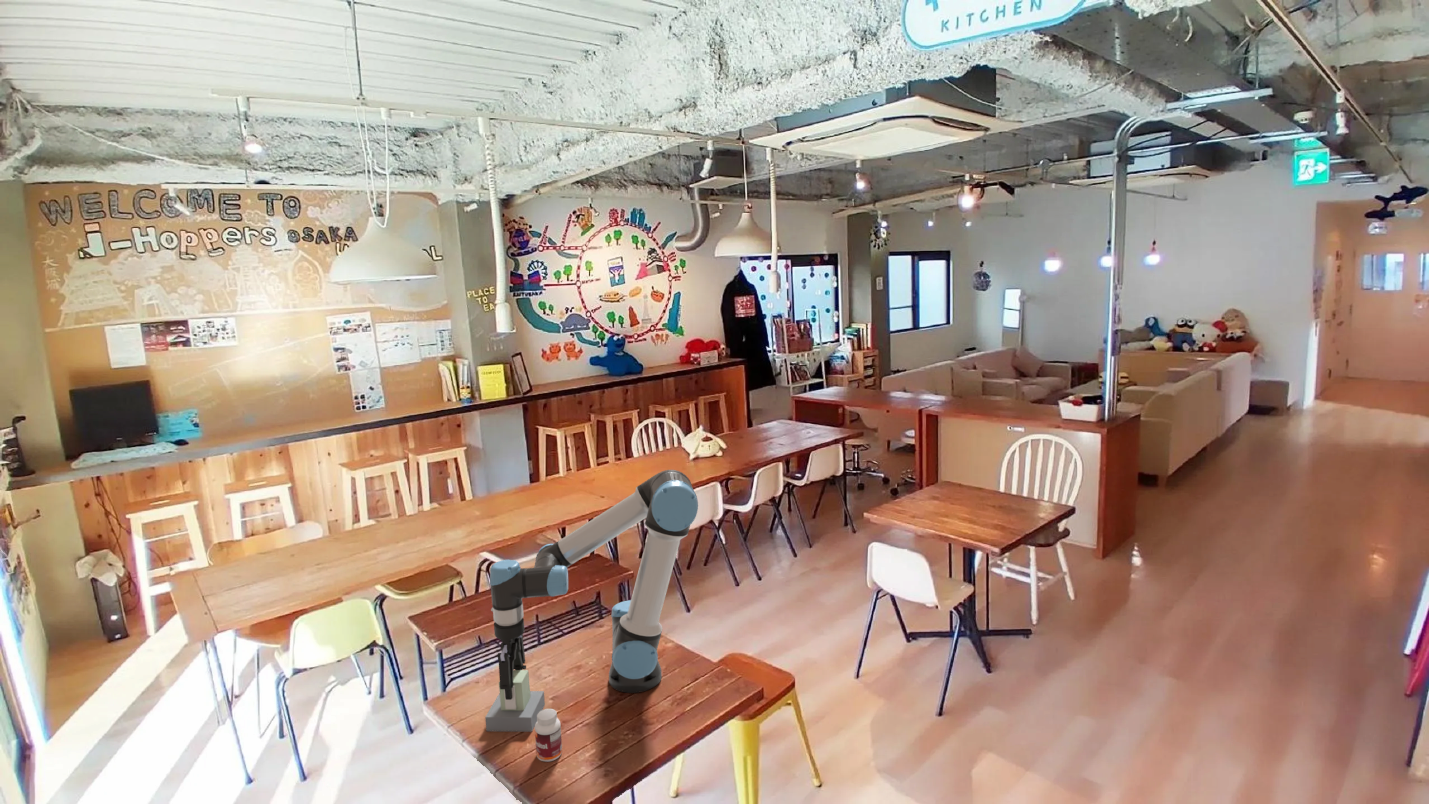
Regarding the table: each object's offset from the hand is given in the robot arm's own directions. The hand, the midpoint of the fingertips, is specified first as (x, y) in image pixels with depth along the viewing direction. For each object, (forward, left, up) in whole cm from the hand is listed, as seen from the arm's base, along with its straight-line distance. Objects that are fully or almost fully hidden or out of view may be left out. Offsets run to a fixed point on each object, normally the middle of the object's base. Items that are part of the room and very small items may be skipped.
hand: (515, 700), depth 195 cm
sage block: (0, 0, -1) cm, 1 cm away
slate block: (0, 0, -5) cm, 5 cm away
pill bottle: (-13, +15, -5) cm, 21 cm away
